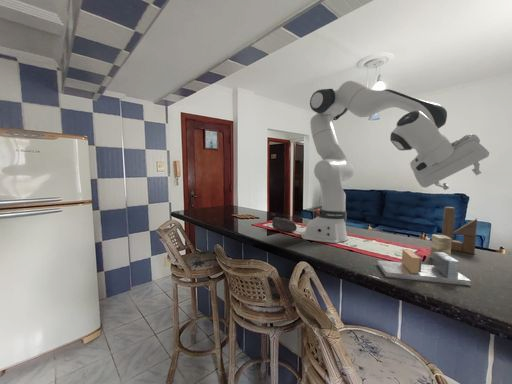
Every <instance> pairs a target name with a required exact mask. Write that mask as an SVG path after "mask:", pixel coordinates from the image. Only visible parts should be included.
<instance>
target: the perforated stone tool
mask: <svg viewBox="0 0 512 384" xmlns="http://www.w3.org/2000/svg"><path fill="white" fill-rule="evenodd" d="M271 226H272V228H273V229H275V230H278V231H282V232H288V233H289V232H290V233H291V232H292V233H293V232H295V231H297V228H298V227H297V224H296V223H295V222H293V221H292V220H291V219H287V218H282V217H277V216H275V217H273V218H272V221H271Z"/></svg>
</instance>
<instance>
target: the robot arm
mask: <svg viewBox="0 0 512 384" xmlns="http://www.w3.org/2000/svg"><path fill="white" fill-rule="evenodd" d="M309 106H310V109H311V110H312V111H313V112H315V114H314V115H313V116H312V117H311V119H310V122H309V123H310V131H311V132H310V133H311V136H312V141H313V144H314V146H315V151H316V153H317V154H318V155H319V156H320V157H321V158H322V160H320V161H318V162H317V163H316V164H315V165H314V169H313V173H314V177H316V179H317V181H318V183H319V186H320V190H321V191H320V192H321V208H317V209H316V212H317V216H316V217H315V218H313V219H312V220H310V221H309V222H308V223H307V224H306V227H305V230H304V231H302V232H301V235H300V237H301V238H302V239H303V240H307V241H308V240H309V241H315V242H321V243H322V242H325V243H331V244H337V243H340V242H346V241H348V239H349V238H348V233H347V228H346V226H347V225H346V222H347V210H346V200H347V199H346V198H347V195H346V192H345V191H344V189H343V184H342V182H346V181H348V180H349V179H351V178H352V177H353V176H354V173H355V169H354V166H353V164H352V163H351V162H350V161H349V159H348V157H347V155H346V154H345V152H344V151H343V148H342V147H341V145H340V142H339V138H338V137H337V133H336V130H335V126H334V124H333V121H338V119H340V118H341V117H343V115H344V114H346V113H347V112H348V111H349V112H350V113H351V114H353V115H354V116H357V117H359V118H369V117H372V116H374V115H376V114H378V113H380V112H382V111H384V110H387V109H391V108H398V109H400V110H403V111H405V112H407V113H405V115H403V116H402V117H400V118H399V119H398V121H397V122H396V127H395V128H394V129H393V130H392V131H391V133H390V135H389V136H390V137H389V138H390V142H391V143H392V144H393V145H394V146H395V148H396V149H397V150H399V151H411V150H413V149H414V150H415V151H416V153H417V155H416V156H415V157H414V158H413V159H412V160H411V161H410V162H409V165H410V169H411V170H412V172H413V174H414V177H415V179H416V181H417V183H418V184H419V186H420V187H422V188H424V189H425V188H428V187H430V186H432V185H435V186H436V187H439V188H442V189H443V190H444V191H446V190H448V189H450V187H449V185H448V184H447V183H446V182H443V183H441V182H440V181H442V180H444V179H446V178H448V177H451V176H453V175H454V174H456V173H458V172H460V171H463V170H464V169H466V168H469V167H470V166H474V167H473V169H471V171H472V172H473V173H474V174H475V176H477V175H478V176H479V175H480V174H482V171H481V170H480V161H483V160H485V159H486V158H488V157H489V155H490V151H489V150H487V148H486V147H485V146H484V145H483V144H481V143H480V142H481V140H480V138H479V136H478V135H477V134H466V135H464V136H462V137H461V138H459V139H457V140H455V141H453V142H450V140H449V139H448V138H447V137H446V136H445V135H444V134H442V133H441V132H440V130H439V129H440V128H441V127H443V126H445V125H446V123H447V118H448V111H447V110H446V108H445V107H443V106H442V105H441V104H439V103H435V102H431V101H425V100H423V99H419V98H416V97H414V96H411V95H408V94H405V93H402V92H400V91H396V90H392V89H387V88H386V89H383V90H375V89H371V88H369V87H367V86H365V85H363V84H362V83H359V82H356V81H354V80H353V81H352V80H348V81H345V82H344V83H342V84H341V85H340V86H339V88H338V89H336V90H334V89H333V88H321V89H317V90H316V91H315V92H313V94H312V95H311V97H310V100H309Z"/></svg>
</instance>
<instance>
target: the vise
mask: <svg viewBox="0 0 512 384" xmlns="http://www.w3.org/2000/svg"><path fill="white" fill-rule="evenodd" d="M377 266H378V267H379V268H380V270H381V272H382V273H383V275H384V276H385V277H387V278H392V279H393V278H395V279H403V280H404V279H405V280H413V281H415V280H416V281H422V282H431V283H439V284H440V283H441V284H451V285H460V286H461V285H462V286H472V285H471V284H472V280H470V279H469V278H468V277H466V276H465V275H464V274H462V273H460V272H459V267H460V261H459V260H457V259H456V258H454V257H452V256H449V255H447V254H446V253H444V252H433V258H432V265H431V264H423V263H421V272H419V273H411V272H410V271H409V270H408V269H407V268H406V267H405V266H404V265H403V264H402V261H401V262H399V261H389V260H377Z"/></svg>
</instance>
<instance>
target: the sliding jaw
mask: <svg viewBox="0 0 512 384" xmlns="http://www.w3.org/2000/svg"><path fill="white" fill-rule="evenodd" d="M401 253H402V254H401V262H402V264H403V265H404V266H405V267H406V268H407V269H408V270H409V271H410V272H411V273H419V272H421V264H422V261H423V259H422V257H420V256H419V255H418V254H417V253H415V252H414V251H413V250H412V249H411V250H410V249H404V248H403V249H402V251H401Z"/></svg>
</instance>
